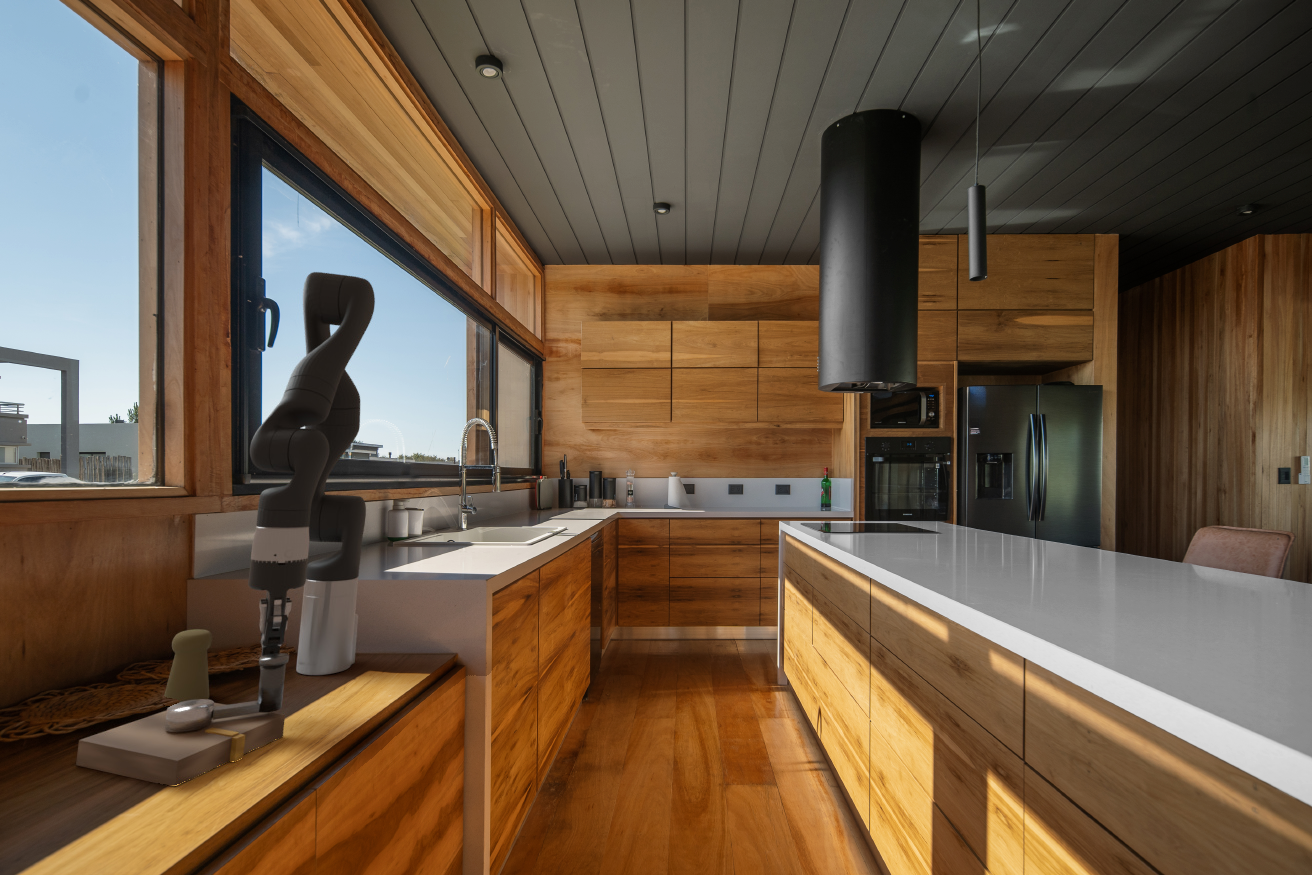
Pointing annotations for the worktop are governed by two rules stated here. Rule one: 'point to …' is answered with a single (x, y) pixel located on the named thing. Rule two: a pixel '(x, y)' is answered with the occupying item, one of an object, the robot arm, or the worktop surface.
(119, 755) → the stand
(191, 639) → the olive tapered upright piece
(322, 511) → the robot arm
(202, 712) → the metal lever handle
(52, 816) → the worktop surface
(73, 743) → the worktop surface
